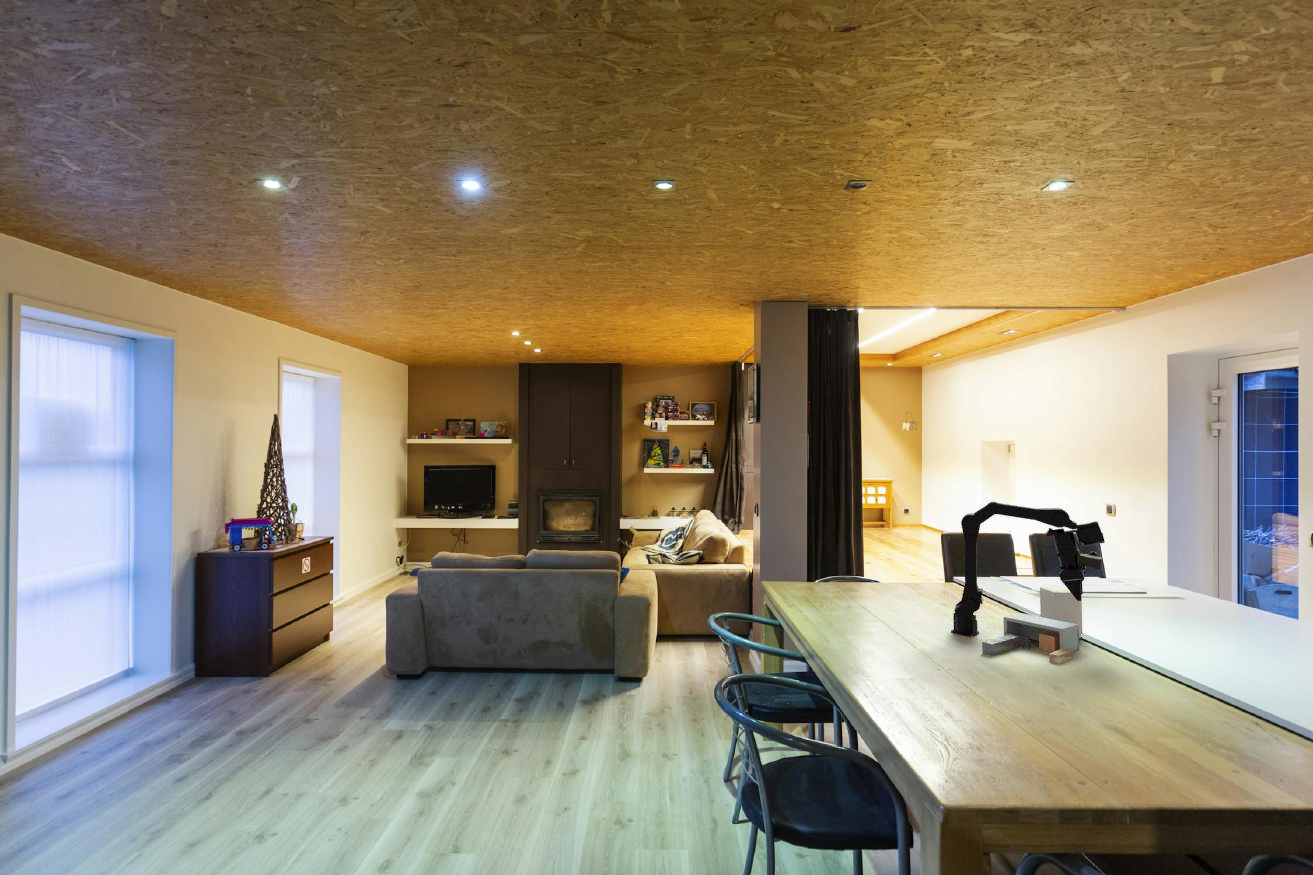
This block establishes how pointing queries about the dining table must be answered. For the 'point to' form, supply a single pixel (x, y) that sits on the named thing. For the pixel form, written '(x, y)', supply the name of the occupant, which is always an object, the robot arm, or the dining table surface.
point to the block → (1049, 641)
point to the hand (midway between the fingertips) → (1080, 597)
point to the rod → (1061, 655)
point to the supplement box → (1060, 605)
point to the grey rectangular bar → (1005, 643)
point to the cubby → (1043, 628)
